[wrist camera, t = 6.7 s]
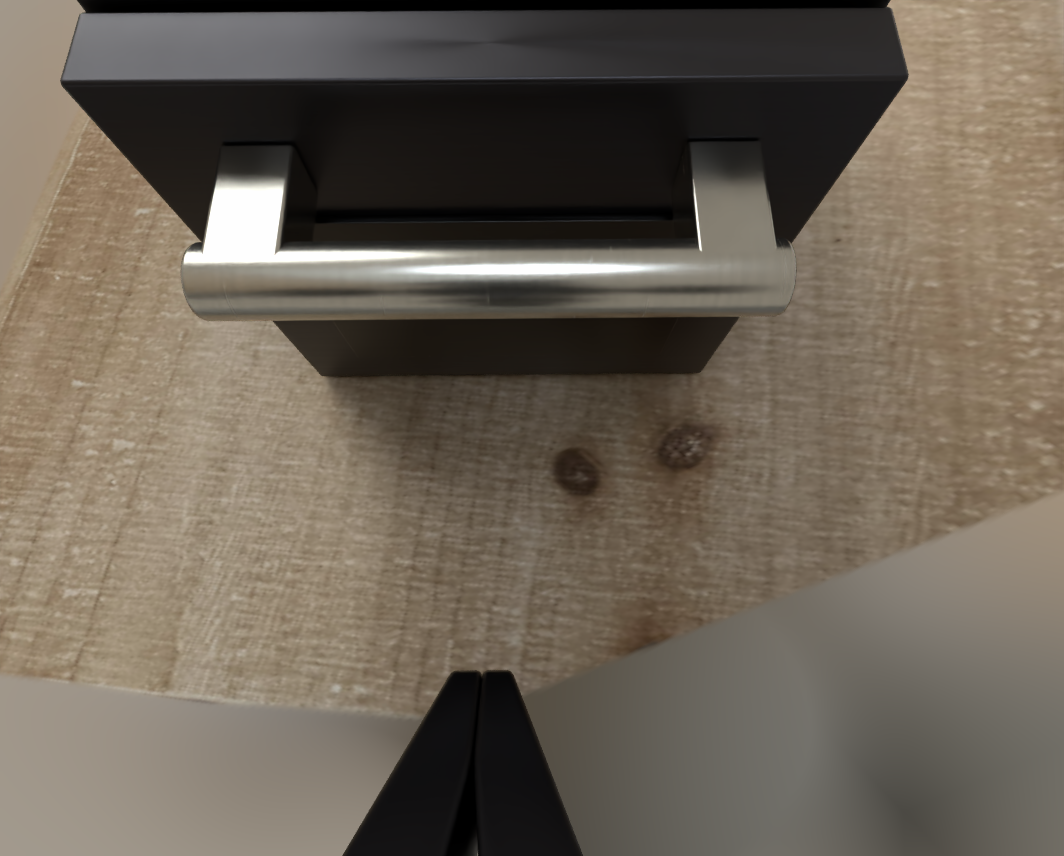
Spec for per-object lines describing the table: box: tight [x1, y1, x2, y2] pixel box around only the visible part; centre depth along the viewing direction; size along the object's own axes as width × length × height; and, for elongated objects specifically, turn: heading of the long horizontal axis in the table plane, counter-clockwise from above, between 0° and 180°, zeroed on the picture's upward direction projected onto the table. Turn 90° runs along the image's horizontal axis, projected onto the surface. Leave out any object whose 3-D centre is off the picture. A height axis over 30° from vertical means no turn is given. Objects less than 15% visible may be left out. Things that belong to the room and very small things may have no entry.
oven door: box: [60, 7, 909, 376], centre depth 16 cm, size 5×14×13 cm, turn 90°
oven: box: [77, 0, 890, 12], centre depth 18 cm, size 15×14×13 cm
